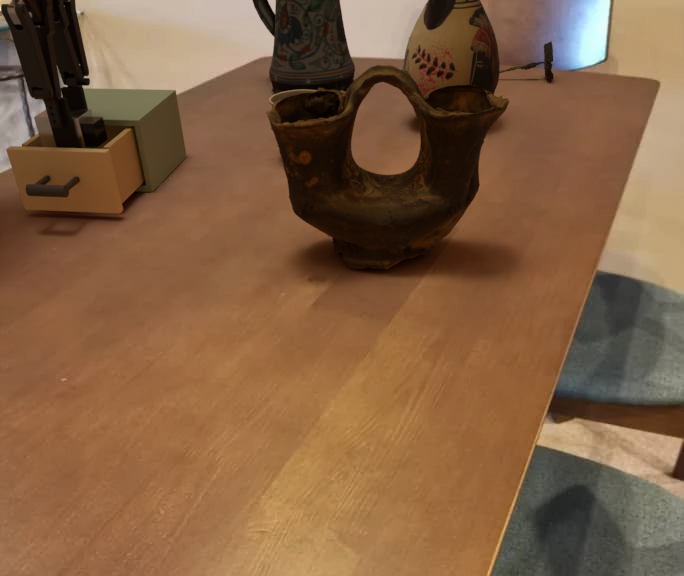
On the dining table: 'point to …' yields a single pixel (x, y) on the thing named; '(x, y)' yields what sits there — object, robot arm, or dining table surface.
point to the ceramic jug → (453, 47)
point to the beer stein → (307, 45)
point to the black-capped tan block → (85, 126)
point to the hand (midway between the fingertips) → (76, 146)
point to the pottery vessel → (376, 189)
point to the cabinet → (145, 126)
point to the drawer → (79, 173)
